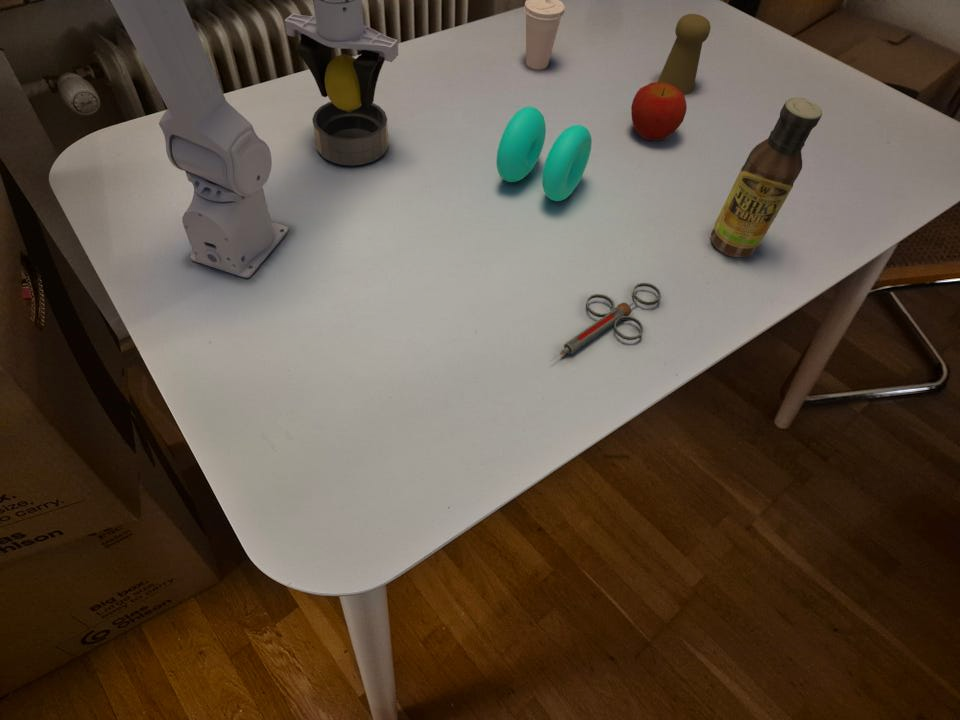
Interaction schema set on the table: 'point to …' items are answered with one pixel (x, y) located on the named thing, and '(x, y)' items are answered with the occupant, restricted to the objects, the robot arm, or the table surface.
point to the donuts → (525, 148)
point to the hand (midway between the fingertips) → (347, 98)
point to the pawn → (685, 53)
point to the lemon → (343, 83)
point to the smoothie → (541, 30)
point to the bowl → (350, 134)
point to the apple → (658, 110)
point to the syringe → (608, 320)
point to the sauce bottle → (765, 181)
